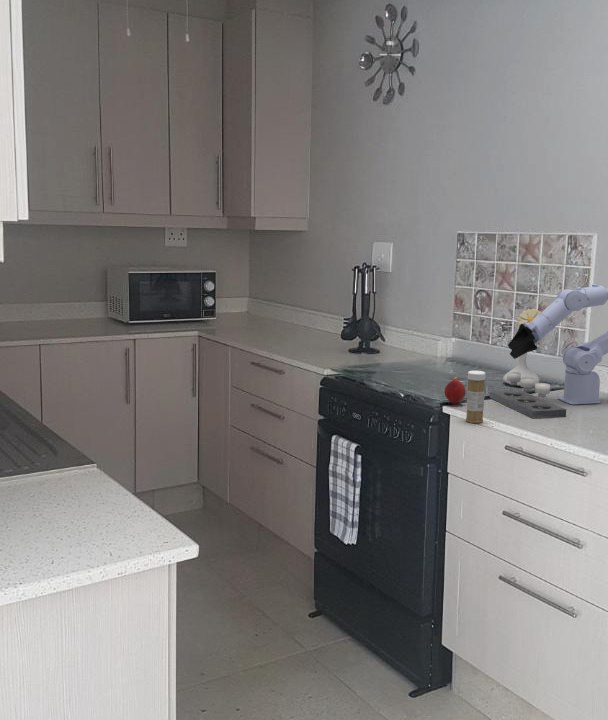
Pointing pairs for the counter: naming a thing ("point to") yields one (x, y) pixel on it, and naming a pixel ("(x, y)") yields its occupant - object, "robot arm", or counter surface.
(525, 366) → the flower in vase
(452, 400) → the onion
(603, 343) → the robot arm
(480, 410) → the sprinkles bottle
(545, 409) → the panel
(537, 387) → the knob
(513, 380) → the knob
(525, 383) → the knob mid
